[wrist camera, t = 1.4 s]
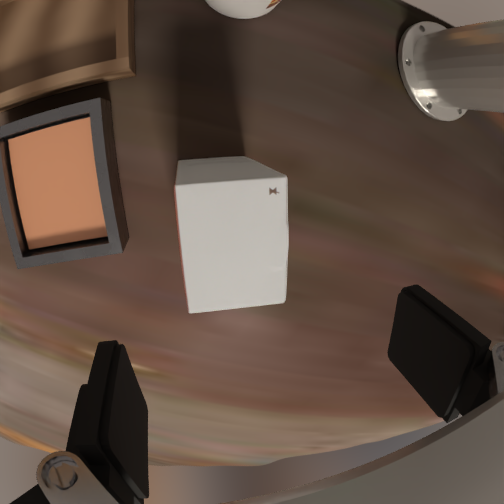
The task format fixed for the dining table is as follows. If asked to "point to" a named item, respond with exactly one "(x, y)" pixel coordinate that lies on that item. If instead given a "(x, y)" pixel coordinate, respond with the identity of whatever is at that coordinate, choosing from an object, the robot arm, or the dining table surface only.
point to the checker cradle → (100, 115)
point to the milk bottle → (243, 7)
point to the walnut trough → (62, 46)
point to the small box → (231, 233)
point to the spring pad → (57, 184)
